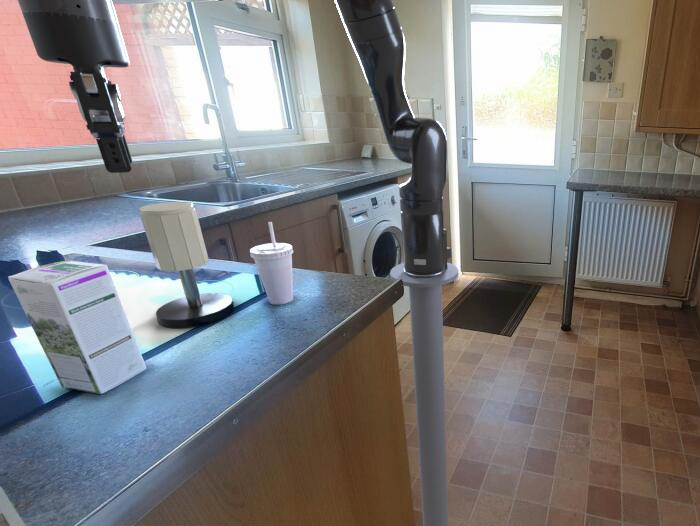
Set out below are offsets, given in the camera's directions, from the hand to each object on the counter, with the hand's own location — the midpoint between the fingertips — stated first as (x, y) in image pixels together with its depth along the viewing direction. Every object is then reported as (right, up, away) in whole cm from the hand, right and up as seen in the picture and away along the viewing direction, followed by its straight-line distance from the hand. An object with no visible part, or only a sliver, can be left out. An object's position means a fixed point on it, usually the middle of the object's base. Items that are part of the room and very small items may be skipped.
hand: (121, 167), depth 51 cm
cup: (-2, -11, +12) cm, 17 cm away
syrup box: (-1, -26, -1) cm, 27 cm away
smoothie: (+8, -17, +21) cm, 29 cm away
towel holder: (-2, -19, +15) cm, 25 cm away
